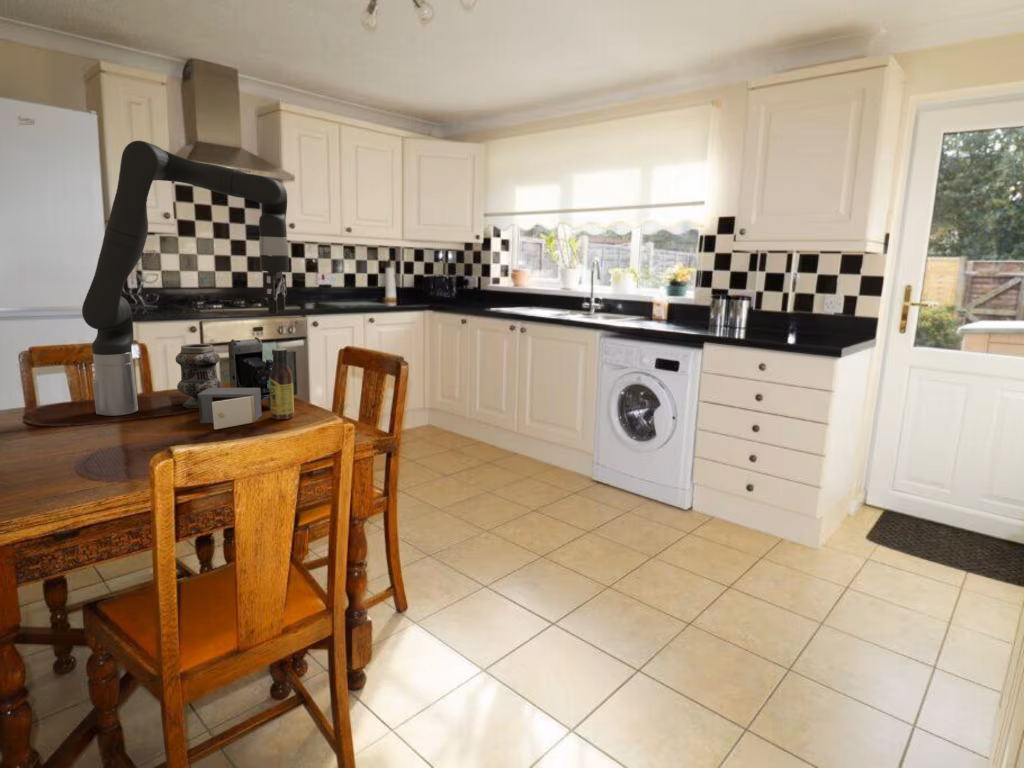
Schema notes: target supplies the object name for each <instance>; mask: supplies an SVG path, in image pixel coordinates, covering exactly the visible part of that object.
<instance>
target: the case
mask: <svg viewBox="0 0 1024 768" xmlns="http://www.w3.org/2000/svg"><path fill="white" fill-rule="evenodd" d="M249 396H254V412H255V422H256V421H257V420H259V418H261V417H262V415H263V409H262V400H261V391H260V388H230V387H221V388H207V389H206V390H204V391H202V392H201V393H199V394H198V405H199V408H198V415H199V423H200V424H214V422H213V409H212V402H216V401H223V400H229V399H236V398H242V397H249ZM255 422H253V423H255ZM253 423H252V424H253Z"/></svg>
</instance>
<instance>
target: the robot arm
mask: <svg viewBox="0 0 1024 768" xmlns="http://www.w3.org/2000/svg"><path fill="white" fill-rule="evenodd" d="M153 181H161V182H162V181H165V182H176V183H183V184H187V185H191V186H196V187H198V188H202V189H204V190H208V191H211V192H215V193H218V194H222V195H226V196H230V197H234V198H241V199H247V200H250V201H253V202H255V203H260V204H261V215H260V216H259V220H258V231H259V234H258V235H259V242H258V245H259V246H258V248H259V249H258V251H259V265H260V267H259V268H260V271H262V272H267V275H264V276H263V285H264V287H263V288H264V292H263V293H264V298H265V299H266V300H267V306H268V307H267V309H268V314H271V315H276V314H278V312H281V311H285V310H286V301H285V298H286V296H287V295H288V290H287V275H286V274H285V273H287V272H289V271H290V262H289V261H290V260H289V258H290V257H289V244H288V236H287V222H286V219H287V210H288V208H287V207H288V193H287V189H286V188H285V185H284V184H283V183H281V182H280V181H278V180H276V179H273V178H270V177H267V176H262V175H258V174H253V173H252V174H251V173H246V172H245V171H242V170H238V169H234V168H230V167H227V166H222V165H217V164H211V163H204V162H199V161H194V160H190V159H188V158H184V157H182V156H178V155H176V154H173V153H172V152H169V151H168V150H167V151H166V150H164V149H162V148H161V147H159V145H158V146H157V145H155V144H152V143H150V142H147V141H145V140H144V141H143V140H134V141H131V142H130V143H128V144H127V145H126V146H125V147H124V149H123V151H122V154H121V160H120V166H119V174H118V182H117V187H116V193H115V196H114V199H113V203H112V207H111V211H110V214H109V217H108V221H107V224H106V229H105V232H104V236H103V239H102V243H101V248H100V253H99V255H98V260H97V264H96V269H95V272H94V276H93V278H92V281H91V284H90V287H89V288H88V292H87V293H86V296H85V298H84V301H83V304H82V309H81V314H82V318H83V320H84V322H85V323H86V324H87V325H88V326H89V327H90V328H92V329H95V330H97V334H96V337H95V339H94V341H93V342H92V344H91V350H92V351H91V352H92V358H93V367H94V374H95V380H94V379H93V381H92V389H93V398H94V406H95V412H96V415H101V416H111V417H112V416H114V417H115V416H123V415H129V414H133V413H136V412H137V411H139V407H138V406H139V405H138V395H137V387H136V377H135V369H134V368H135V366H134V356H133V348H132V346H133V341H134V322H133V311H132V308H131V305H130V303H129V302H128V300H127V298H125V297H123V296H122V292H123V289H124V286H125V283H126V281H127V280H128V277H129V276H130V275H131V273H132V272H133V270H134V269H135V267H136V266H137V264H138V263H139V261H140V259H141V257H142V256H143V252H144V248H145V245H146V242H147V241H146V240H147V238H148V233H149V221H148V208H147V207H148V206H147V204H148V203H147V202H148V198H149V197H148V196H149V193H150V190H151V186H152V183H153ZM283 272H285V273H284V274H283Z"/></svg>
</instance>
